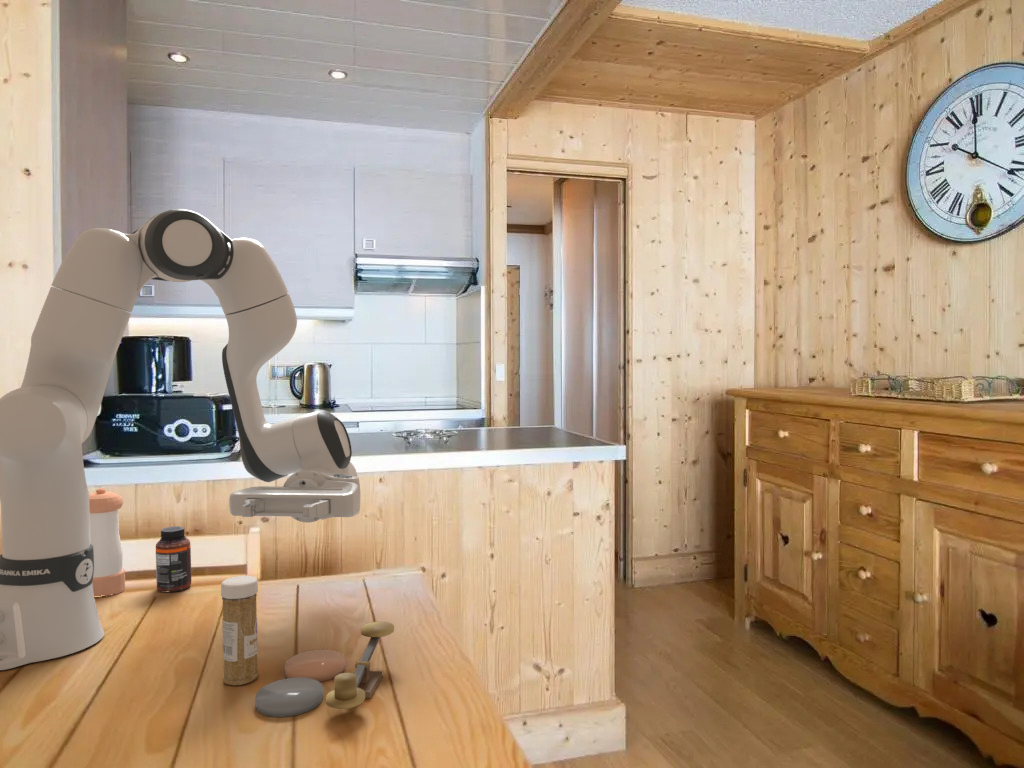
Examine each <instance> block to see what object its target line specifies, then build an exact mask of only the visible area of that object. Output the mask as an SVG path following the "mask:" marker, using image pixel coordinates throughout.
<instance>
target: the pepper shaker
mask: <svg viewBox="0 0 1024 768" xmlns="http://www.w3.org/2000/svg"><path fill="white" fill-rule="evenodd" d="M123 504H124V500H123V498H122V496H121V495H120V494H118V493H116V492H113V491H107V489H106V488H103V487H101V488H97V489H96V491H95V492H92V493H89V506H90V544H91V545H93V550H94V574H93V581H92V583H93V592H94V596H101V595H111V594H115V595H118V594H120V593H122V592H124V591H125V590H126V570H125V569H124V568H123V566H124V564H123V560H124V559H123V558H124V556H123V555H124V552H123V546H122V541H121V536H120V532H119V531H120V525H119V523H120V522H119V520H120V519H119V509H121V508H122V506H123ZM111 596H112V595H111Z"/></svg>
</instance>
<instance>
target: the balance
mask: <svg viewBox="0 0 1024 768" xmlns="http://www.w3.org/2000/svg"><path fill="white" fill-rule="evenodd" d="M394 632H395V625H394V624H393V623H391V622H390V621H389V622H387V621H372V622H368V623H365V624H363V625H362V626H361V627H360V634H361V635H362V636H364V637H367V638H370V639H369V641H368V643H367V645H366V647H365V649H364V652H363V653H362V656H361V658H360V660H359V661H357V660H356V661H355V662H354V663H355V665H354V669H355V671H353V672H343V673H341V674H339V675H337V676H335V678H333V679H334V680H333V681H334V689H333V690H331V691H329V692H327V694H326V696H325V703H326V705H327V706H328V707H330V708H332V709H338V710H339V709H340V710H344V709H345V710H347V709H351V708H354V707H358V706H359V705H361V704H362V703H364V701H366V699H371V698H372V696H373V694H374V692H375V691H376V689H377V687H378V686H379V684H380V683H381V681H382V679H383V671H381V670H380V671H375V670H373V671H372V670H371V658H372V657H373V654H374V652H375V650H376V648H377V645H378V643H379V641H380V639H381V638H383V637H387V636H389V635H392V634H393V633H394Z"/></svg>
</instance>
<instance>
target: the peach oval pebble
mask: <svg viewBox="0 0 1024 768" xmlns="http://www.w3.org/2000/svg"><path fill="white" fill-rule="evenodd" d="M345 670H346V656H345V655H344V654H343V653H341V652H339V651H337V650H332V649H314V650H308V651H303V652H300V653H296V654H294V655H293V656H291V657H290V658H288V659H287V660H286V661H285V663H284V675H285V677H286V678H285V679H287V678H297V677H301V678H310V679H314V680H317V681H319V682H320V683H322V682H326V681H330V680H332V679H334V678H335V676H337V675H339V674H342V673H344V671H345Z"/></svg>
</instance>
